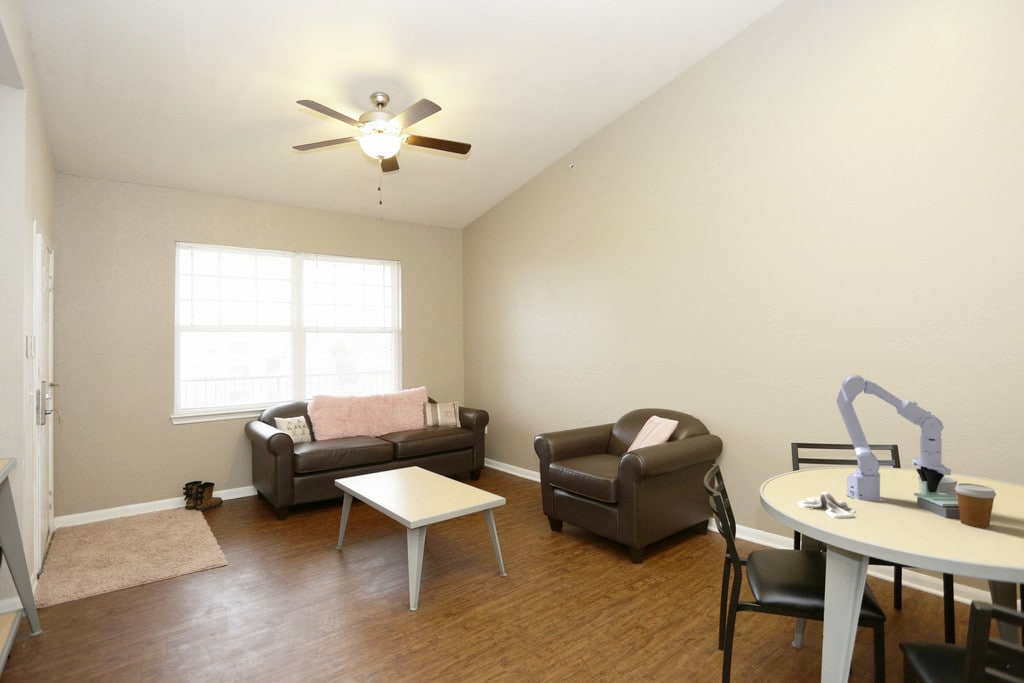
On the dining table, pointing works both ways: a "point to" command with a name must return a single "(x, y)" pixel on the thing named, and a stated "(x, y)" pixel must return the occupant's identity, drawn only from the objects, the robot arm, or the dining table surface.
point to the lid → (937, 497)
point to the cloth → (828, 505)
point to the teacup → (943, 486)
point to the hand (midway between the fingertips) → (930, 491)
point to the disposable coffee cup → (975, 504)
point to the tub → (938, 509)
